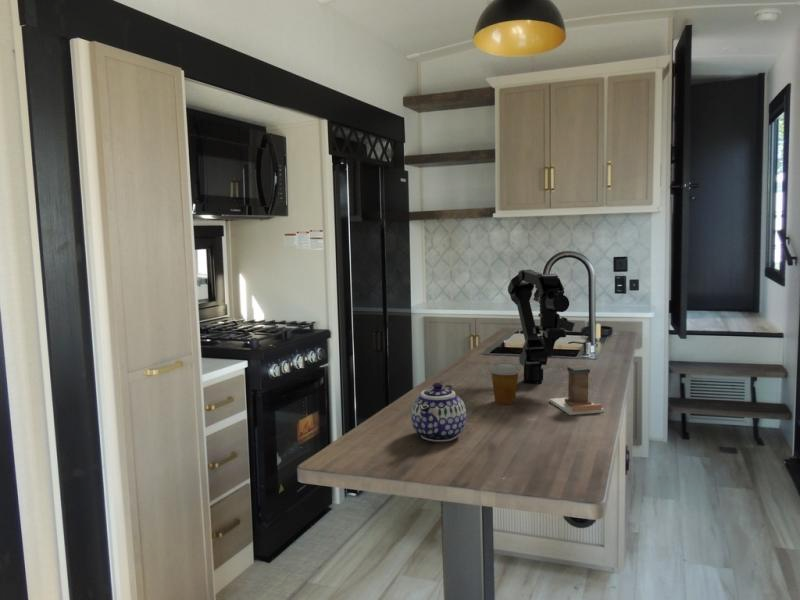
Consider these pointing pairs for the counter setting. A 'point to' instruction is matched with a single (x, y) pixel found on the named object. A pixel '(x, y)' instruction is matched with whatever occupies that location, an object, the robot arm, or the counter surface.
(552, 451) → the counter surface
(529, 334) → the robot arm
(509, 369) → the disposable coffee cup
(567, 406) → the thin white base plate
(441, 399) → the teapot
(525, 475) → the counter surface
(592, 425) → the counter surface
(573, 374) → the brown wooden pedestal
